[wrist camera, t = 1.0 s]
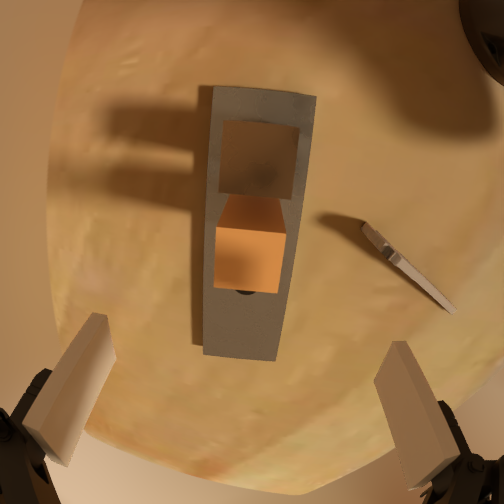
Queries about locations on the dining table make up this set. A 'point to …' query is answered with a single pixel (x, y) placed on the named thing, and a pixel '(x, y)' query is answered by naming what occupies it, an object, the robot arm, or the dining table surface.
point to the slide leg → (249, 244)
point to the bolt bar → (262, 185)
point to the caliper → (405, 266)
